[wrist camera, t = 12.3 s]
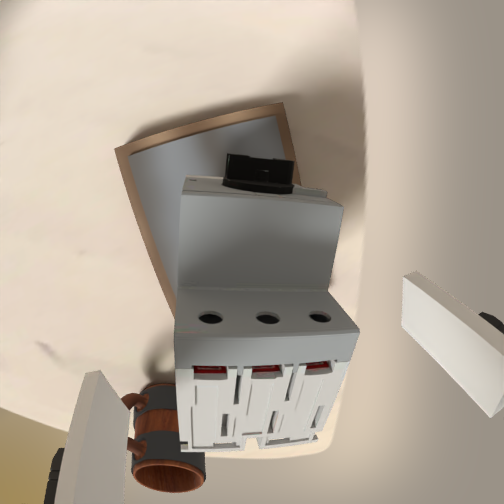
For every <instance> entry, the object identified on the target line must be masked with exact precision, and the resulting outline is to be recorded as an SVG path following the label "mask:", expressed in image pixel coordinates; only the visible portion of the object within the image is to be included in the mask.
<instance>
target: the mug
mask: <svg viewBox="0 0 504 504" xmlns="http://www.w3.org/2000/svg"><path fill="white" fill-rule="evenodd" d="M121 400H122V402H123V403H124V404H125V406H126V407H127V408H128V410H129V411H130V409H131V408H132V407H133V406H134V421H133V426H134V429H135V438H134V439H132V438H130V437H128V441H127V450H129V451H131V452H132V468H131V472H132V474H133V476H134V478H135V479H136V480H137V482H139V483H140V484H141V485H143V486H145V487H148V488H150V489H153V490H157V491H161V492H170V493H181V492H188V491H192V490H195V489H197V488H199V487H200V486H202V484H203V482H205V479H206V472H205V452H181V444H188V441H180V435H179V423H178V410H177V396H176V385H175V384H156V385H152V386H150V387H148V388H146V389H145V390H144V391H142V392H141V393H140V394H137V393H130V394H127V395H125V396H124V397H122V398H121Z"/></svg>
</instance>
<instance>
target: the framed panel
mask: <svg viewBox="0 0 504 504" xmlns="http://www.w3.org/2000/svg"><path fill="white" fill-rule="evenodd" d="M114 150H115V154H116V157H117V161H118V164H119V167H120V171H121V174H122V177H123V181H124V184H125V187H126V190H127V194H128V197H129V200H130V203H131V206H132V209H133V212H134V215H135V218H136V221H137V224H138V226H139V229H140V232H141V235H142V238H143V241H144V243H145V246H146V249H147V252H148V254H149V257H150V260H151V262H152V265H153V267H154V270H155V273H156V275H157V278H158V280H159V283H160V285H161V288H162V290H163V293H164V295H165V297H166V300H167V302H168V305H169V307H170V309H171V312H172V314H173V316H174V319H175V312H176V299H177V286H178V246H179V222H180V204H181V192H182V188H183V185H184V181H185V178H186V175H198V176H214V177H225V169H226V158H227V153H229V154H240V155H248V156H250V157H255V158H264V159H273V158H277V159H285V160H291V161H295V162H294V170H293V178H292V184H297V185H300V186H301V181H300V177H299V172H298V167H297V162H296V158H295V153H294V148H293V144H292V139H291V135H290V131H289V126H288V122H287V118H286V114H285V109H284V105H283V102H282V103H276V104H271V105H266V106H261V107H256V108H251V109H247V110H242V111H238V112H233V113H229V114H225V115H221V116H217V117H213V118H209V119H205V120H201V121H198V122H194V123H191V124H187V125H184V126H180V127H177V128H174V129H170V130H167V131H164V132H161V133H158V134H154V135H151V136H148V137H145V138H142V139H140V140H137V141H134V142H131V143H128V144H125V145H123V146H120V147H117V148H115V149H114Z"/></svg>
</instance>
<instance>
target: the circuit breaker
mask: <svg viewBox="0 0 504 504" xmlns="http://www.w3.org/2000/svg"><path fill="white" fill-rule="evenodd" d="M294 162H295V161H291V160H285V159H277V158H273V159H264V158H255V157H250V156H248V155H240V154H229V153H227V158H226V169H225V177H214V176H198V175H186V178H185V181H184V185H183V188H182V192H181V204H180V222H179V246H178V286H177V299H176V312H175V325H174V354H175V378H176V396H177V410H178V423H179V435H180V441H188V444H181V452H224V451H243V450H244V449H245V444H246V439H247V438H256V439H257V442H258V446H259V449H267V448H276V447H284V446H292V445H299V444H306V443H312V442H317V441H318V438H317V436H316V435H314V434H315V432H319V431H322V430H323V427H324V425H325V423H326V421H327V418H328V416H329V414H330V411H331V409H332V406H333V404H334V402H335V399H336V397H337V394H338V392H339V389H340V387H341V384H342V381H343V379H344V376H345V374H346V371H347V368H348V365H349V363H350V360H351V357H352V354H353V351H354V349H355V346H356V343H357V340H358V336H359V334H360V331H359V328H358V327H357V325H356V324H355V323H354V322H353V321H352V319H351V318H350V317H349V316H348V315H347V313H346V312H345V311H344V310H343V308H342V307H341V306H340V305H339V304H338V303H337V301H336V300H335V299H334V298H333V297H332V295H331V294H330V293H329V292H328V287H329V282H330V277H331V273H332V268H333V263H334V258H335V253H336V248H337V243H338V238H339V232H340V227H341V221H342V216H343V210H344V207H343V206H342V205H340V204H338V203H336V202H334V201H332V200H330V199H328V198H327V191H324V190H321V189H313V188H305V187H302V186H300V185H297V184H292V178H293V170H294ZM280 438H284V439H280ZM271 439H277V440H271ZM230 442H232V443H230ZM215 443H223V444H215Z"/></svg>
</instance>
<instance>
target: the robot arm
mask: <svg viewBox="0 0 504 504" xmlns="http://www.w3.org/2000/svg"><path fill="white" fill-rule="evenodd" d="M401 326H402V327H403V328H404V329H405V330H406V331H407V332H408V333H409V334H410V335H411V336H412V337H413V338H414V339H415V340H416V341H417V342H418V343H419V344H420V345H421V346H422V347H423V348H424V349H425V350H426V351H427V352H428V353H429V354H430V355H431V356H432V357H433V358H434V359H435V360H436V361H437V362H438V363H439V364H440V365H441V366H442V367H443V368H444V369H445V371H446V372H447V373H448V374H449V375H450V376H451V377H452V378H453V379H454V380H455V381H456V382H457V383H458V384H459V385H460V386H461V387H462V388H463V389H464V390H465V391H466V393H468V395H469V396H470V397H471V398H472V399H473V400H474V401H475V402H476V403H477V404H478V405H479V407H480V408H481V409H482V410H483V411H484V412H485V413H486V414H487V415H488V416H489V417H490V418H492V417H493V416H494V415H495V414H496V413H497V412H499V411H500V410H501V409H502V408H503V407H504V325H503V323H502V322H501V321H500V320H498V319H497V318H496V317H494V316H492V315H489V314H487V313H484V312H482V313H480V314H477V313H475V312H474V311H472V310H471V309H470V308H468V307H467V306H466V305H464V304H463V303H462V302H460V301H459V300H458V299H456V298H455V297H453V296H452V295H450V294H449V293H448V292H446V291H445V290H443V289H442V288H441V287H439V286H438V285H436V284H435V283H433V282H432V281H431V280H429V279H428V278H426V277H425V276H423V275H422V274H420V273H419V272H417V271H415V272H413V273H410V274H408V275H405V276H404V277H403V304H402V324H401ZM129 420H130V411H129V410H128V408H127V407H126V406H125V404H124V403H123V402H122V400H121V399H120V398H119V396H118V395H117V394H116V392H115V391H114V389H113V388H112V387H111V385H110V384H109V382H108V381H107V379H106V378H105V376H104V375H103V373H102V372H101V371H100V370H99V371H94V372H89V373H86V374H85V377H84V380H83V383H82V386H81V390H80V393H79V396H78V400H77V403H76V407H75V410H74V414H73V418H72V421H71V425H70V429H69V433H68V437H67V441H66V446H65V448H59V449H58V451H57V453H56V454H55V456H54V458H53V460H52V464H51V469H50V470H51V472H50V474H49V478H48V479H49V481H48V483H47V489H46V494H45V500H44V504H124V485H125V467H126V453H127V452H126V451H127V441H128V430H129Z"/></svg>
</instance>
